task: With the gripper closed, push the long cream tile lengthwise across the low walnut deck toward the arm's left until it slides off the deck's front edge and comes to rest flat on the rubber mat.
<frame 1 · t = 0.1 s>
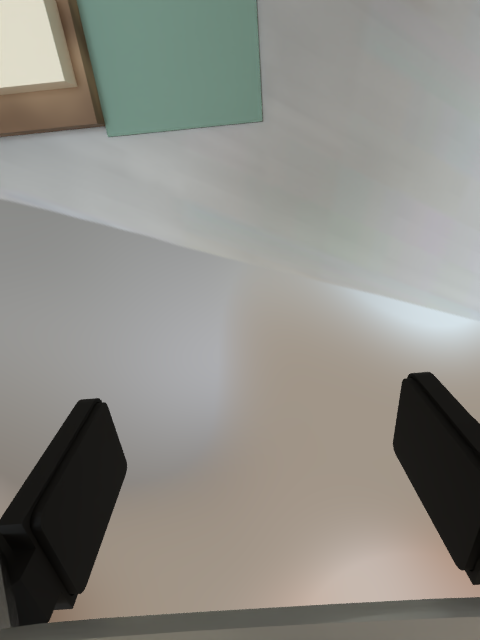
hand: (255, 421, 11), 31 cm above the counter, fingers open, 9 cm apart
mat: (173, 43, 31), on the counter
deck: (9, 34, 31), on the counter
tile: (0, 53, 29), point 2 cm above the counter, touching deck
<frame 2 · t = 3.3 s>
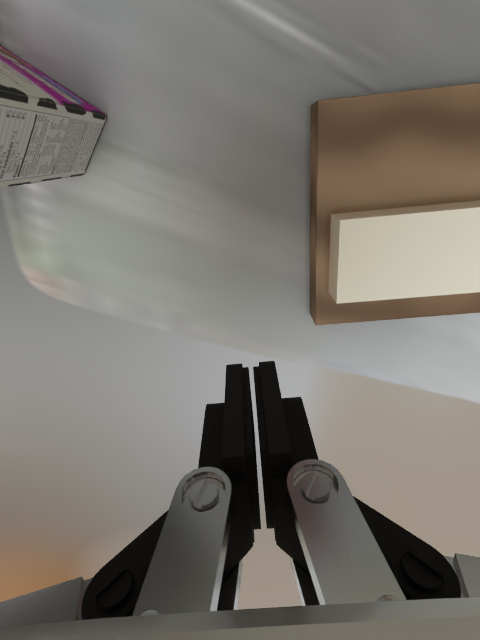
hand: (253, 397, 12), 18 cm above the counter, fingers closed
candy bar box: (24, 103, 23), on the counter
deck: (398, 215, 26), on the counter
tile: (409, 247, 25), point 2 cm above the counter, touching deck
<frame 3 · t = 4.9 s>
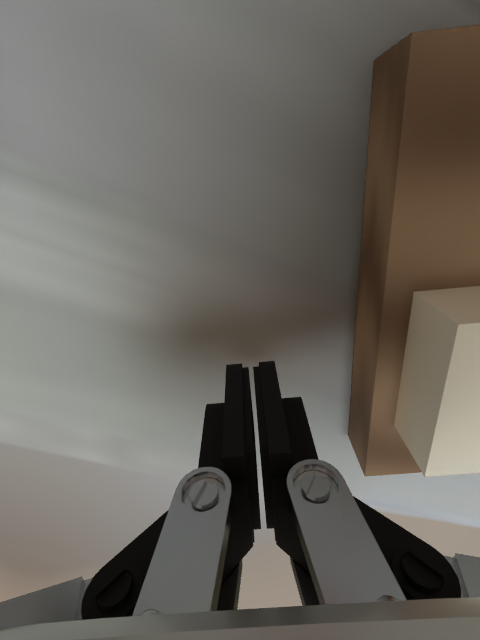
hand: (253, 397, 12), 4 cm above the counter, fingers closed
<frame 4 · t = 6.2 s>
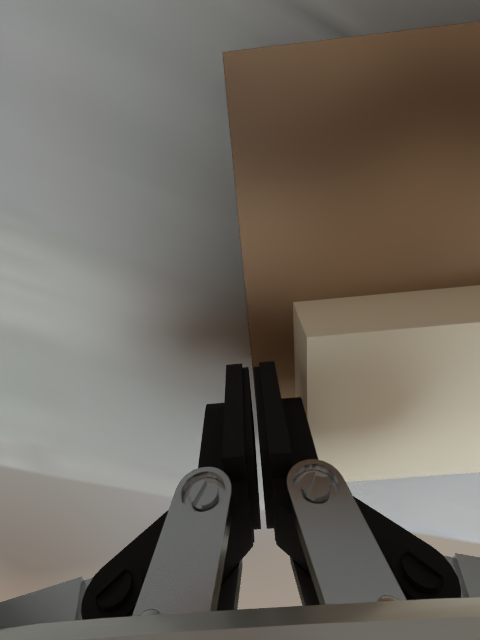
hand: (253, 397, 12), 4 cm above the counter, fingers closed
deck: (413, 288, 14), on the counter
tile: (453, 360, 12), point 2 cm above the counter, touching deck, gripper
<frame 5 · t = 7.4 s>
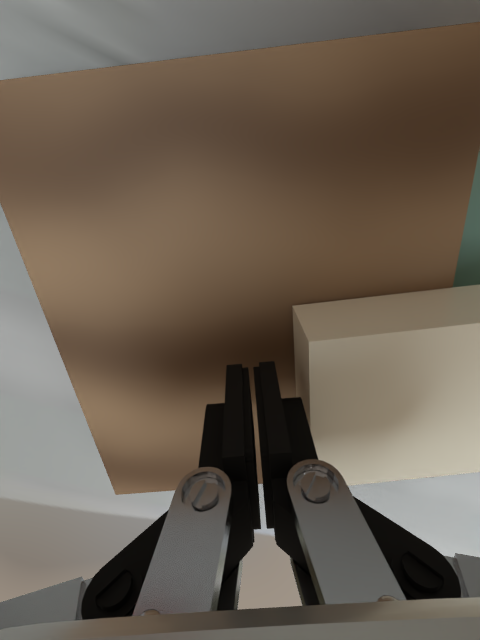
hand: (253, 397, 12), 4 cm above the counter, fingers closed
deck: (246, 304, 14), on the counter
tile: (453, 360, 12), point 2 cm above the counter, touching gripper
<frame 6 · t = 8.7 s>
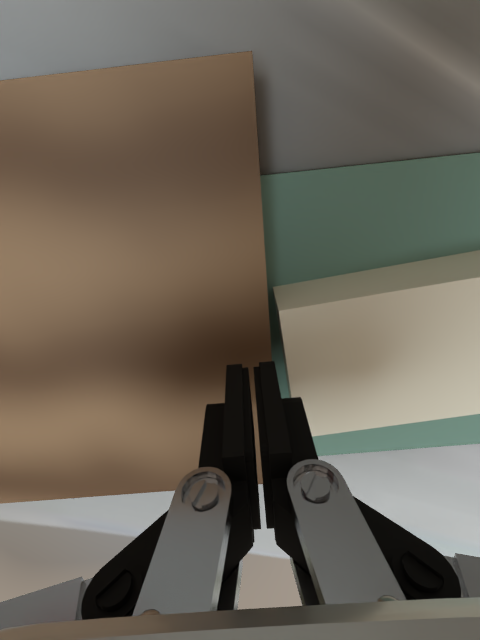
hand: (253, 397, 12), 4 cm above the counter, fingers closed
mat: (446, 327, 15), on the counter
deck: (103, 318, 14), on the counter
tile: (418, 325, 14), resting on mat
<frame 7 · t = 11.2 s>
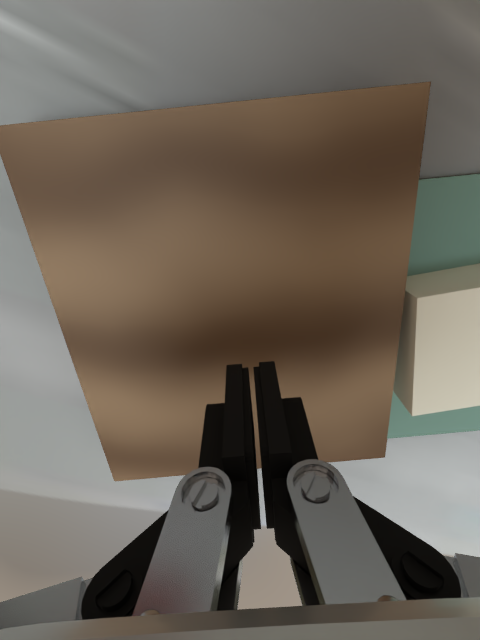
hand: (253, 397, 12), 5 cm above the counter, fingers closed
deck: (233, 308, 16), on the counter
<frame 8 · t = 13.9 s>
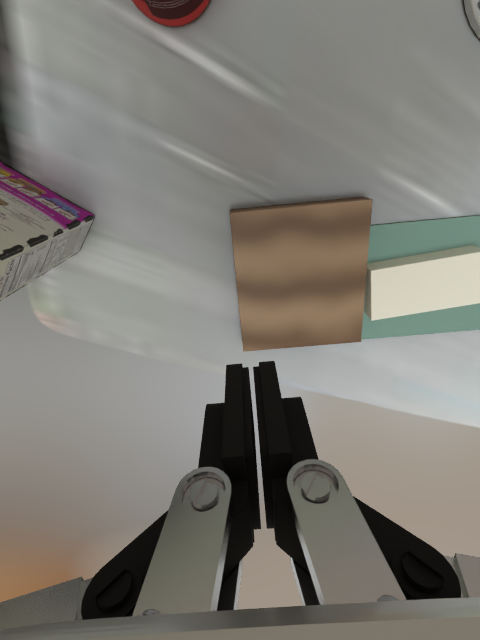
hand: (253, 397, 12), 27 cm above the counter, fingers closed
mat: (426, 280, 38), on the counter
candy bar box: (39, 207, 35), on the counter
deck: (297, 275, 38), on the counter
tile: (415, 279, 38), resting on mat
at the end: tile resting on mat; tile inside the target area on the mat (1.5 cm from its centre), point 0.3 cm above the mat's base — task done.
